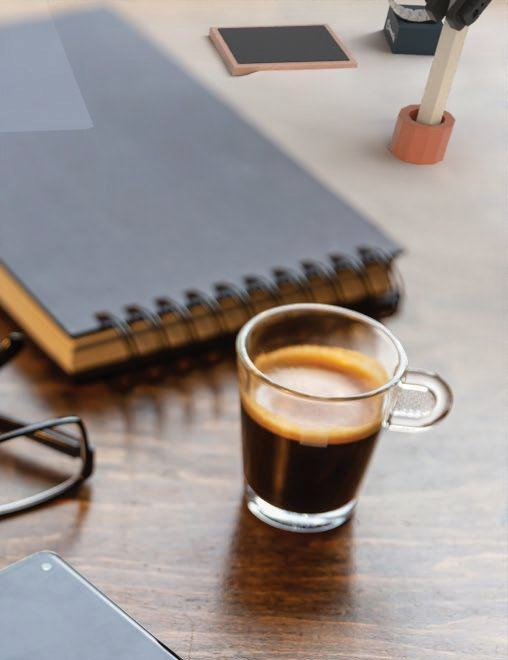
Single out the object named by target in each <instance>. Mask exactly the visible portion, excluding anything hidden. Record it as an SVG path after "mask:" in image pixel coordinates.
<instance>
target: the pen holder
mask: <svg viewBox="0 0 508 660" xmlns="http://www.w3.org/2000/svg"><path fill="white" fill-rule="evenodd" d="M420 105H421V103H419V104H409V105H407V106H403V107H401V108H400V109H399V111H398V114H397V118H396V121H395V125H394V128H393V131H392V136H391V139H390V143H389V147H388V150H389V152H390V154H391V155H392V156H393V157H395V158H397V159H398V160H400V161H403V162H405V163H409V164H413V165H417V166H424V165H425V166H427V165H429V166H431V165H436V164H438V163H440V162H442V161H443V160H444V158H445V154H446V152H447V149H448V146H449V142H450V140H451V136H452V133H453V129H454V127H455V123H456V118H455V117H454V116H453V115H452V114H451V113H450V112H449V111H447V110H445V109H444V112H443V116H442V119H441V122H440V124H439V125H425V124H421V123H417V122H416V119H417V116H418V112H419V109H420Z"/></svg>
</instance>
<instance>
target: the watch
mask: <svg viewBox="0 0 508 660" xmlns="http://www.w3.org/2000/svg"><path fill="white" fill-rule="evenodd" d="M387 1H388V4H389V6H388V9H387V12H386V13H387V14H386V17H385V18H386V19H385V21H384V25H383V29H382V31H383V33H384V36H385V38H386V41H387V43H388V47H389V48H390V52H391V54H392V55H406V56H407V55H409V56H410V55H411V56H426V57H427V56H428V57H429V56H430V57H434V56H435V52H436V49H437V45H438V42H439V38H440V35H441V31H442V27H443V24H444V21H443V20H442V21H440V22H436V21H434V20H432V19H430V18H429V16H428V14H427V13H426V11H425V5H424V4H423V5H420V4H401V3H400V4H399V3H398V2H396V1H395V0H387Z"/></svg>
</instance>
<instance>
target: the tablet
mask: <svg viewBox="0 0 508 660" xmlns="http://www.w3.org/2000/svg"><path fill="white" fill-rule="evenodd" d="M208 36H209V38H210V39H211V41H212V43H213V45H214V46H215V48H216V50H217V52H218V54H219V55H220V57H221V59H222V60H223V63H225V66H226V67H227V68H228V70H229V72H230V74H231V75H232V76H249V75H252V74H254V73H257V72H260V71H261V72H262V71H288V70H289V71H291V70H292V71H293V70H294V71H295V70H296V71H297V70H317V69H318V70H321V69H322V70H324V69H326V70H327V69H357V67H358V61H356V59H355V58H354V57H353V55H352V54H351V53H350V51H349V50H348V48H347V47H346V46H345V45H344V43H343V42H342V41H341V38H339V37H338V35H337V34H336V33H335V31H334V30H333V29H332V27H331V26H330V25H329V24H328V23H306V24H305V23H301V24H300V23H299V24H271V25H269V24H266V25H235V26H234V25H233V26H210V27H209V32H208Z"/></svg>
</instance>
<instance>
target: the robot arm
mask: <svg viewBox="0 0 508 660" xmlns="http://www.w3.org/2000/svg"><path fill="white" fill-rule="evenodd" d="M424 2H425V5H424V6H425V11H426V13H427V14H428V16H429V18H430V19H432V20H434V21H436V22H440V21H442V22H443V21H444V19H445V18H446V20H447V22H448V24H449V26H450V28H452V29H455V30H457V31H461V30H462V29H463V28H464V27H465V25H466V26H469V27H470V26H472V25H473V24H474V23H475V22H476V21H477V20H478V19H479V18H480V16H481V15H482V14H483V12H484V11H485V10H486V9H487V7H488V6H489V5H490V4H491V2H493V0H456V1H455V2H454V4H453V5H452V6H451V7H450V9H449V10H448V7H449V4H450V0H424Z"/></svg>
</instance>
